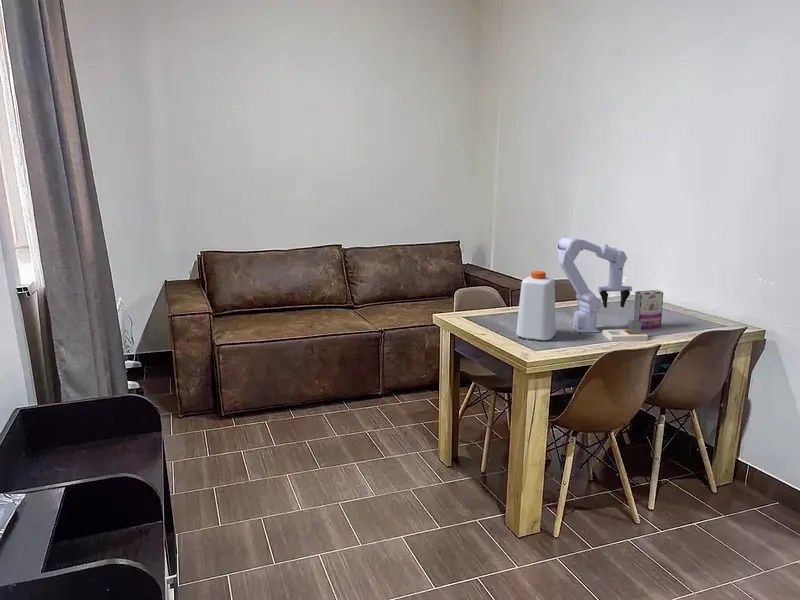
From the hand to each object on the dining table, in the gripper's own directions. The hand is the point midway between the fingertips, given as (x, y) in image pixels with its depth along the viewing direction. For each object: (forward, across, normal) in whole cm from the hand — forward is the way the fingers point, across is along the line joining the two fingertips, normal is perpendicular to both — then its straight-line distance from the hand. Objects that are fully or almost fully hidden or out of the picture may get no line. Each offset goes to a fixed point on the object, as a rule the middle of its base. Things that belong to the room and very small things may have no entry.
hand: (613, 307), depth 267 cm
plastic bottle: (+10, -37, -11) cm, 40 cm away
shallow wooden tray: (+9, 0, -16) cm, 18 cm away
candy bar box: (+10, +16, 0) cm, 18 cm away
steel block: (+10, +3, -16) cm, 19 cm away
